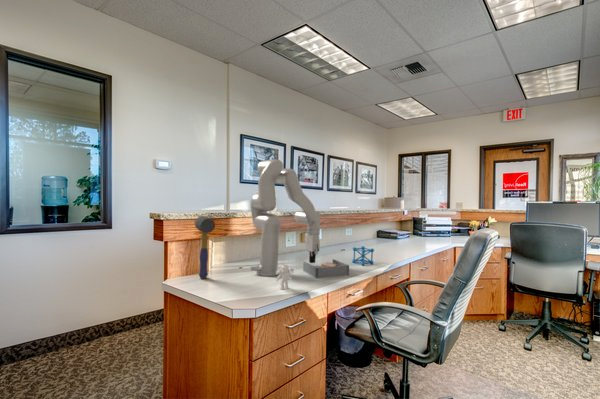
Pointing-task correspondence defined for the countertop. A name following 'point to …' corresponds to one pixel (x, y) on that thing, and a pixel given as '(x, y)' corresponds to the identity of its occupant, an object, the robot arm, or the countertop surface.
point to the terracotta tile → (328, 264)
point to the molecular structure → (363, 255)
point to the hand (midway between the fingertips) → (312, 262)
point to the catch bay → (326, 270)
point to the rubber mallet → (204, 242)
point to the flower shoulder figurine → (284, 275)
